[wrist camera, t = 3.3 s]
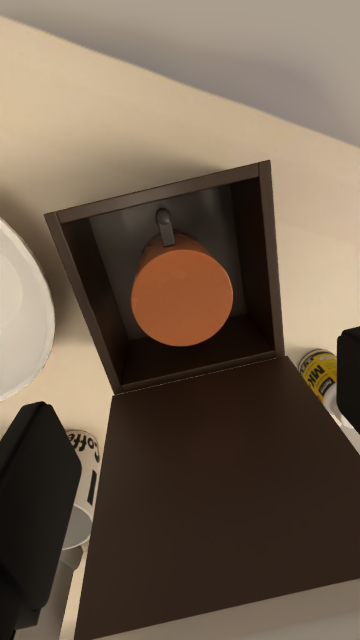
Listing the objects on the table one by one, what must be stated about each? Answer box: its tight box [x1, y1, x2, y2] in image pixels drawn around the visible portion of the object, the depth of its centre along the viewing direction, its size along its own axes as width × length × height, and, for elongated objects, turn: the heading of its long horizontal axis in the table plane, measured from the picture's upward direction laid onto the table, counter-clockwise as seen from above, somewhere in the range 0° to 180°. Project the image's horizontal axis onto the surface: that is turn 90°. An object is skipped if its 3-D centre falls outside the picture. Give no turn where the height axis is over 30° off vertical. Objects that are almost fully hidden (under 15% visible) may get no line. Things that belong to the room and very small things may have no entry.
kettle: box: [131, 208, 233, 346], centre depth 23 cm, size 11×6×11 cm, turn 12°
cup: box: [62, 430, 100, 550], centre depth 32 cm, size 8×8×10 cm
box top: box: [74, 356, 360, 640], centre depth 18 cm, size 15×15×6 cm
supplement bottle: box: [299, 350, 354, 429], centre depth 31 cm, size 5×5×8 cm
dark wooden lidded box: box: [44, 160, 285, 395], centre depth 25 cm, size 15×15×9 cm
